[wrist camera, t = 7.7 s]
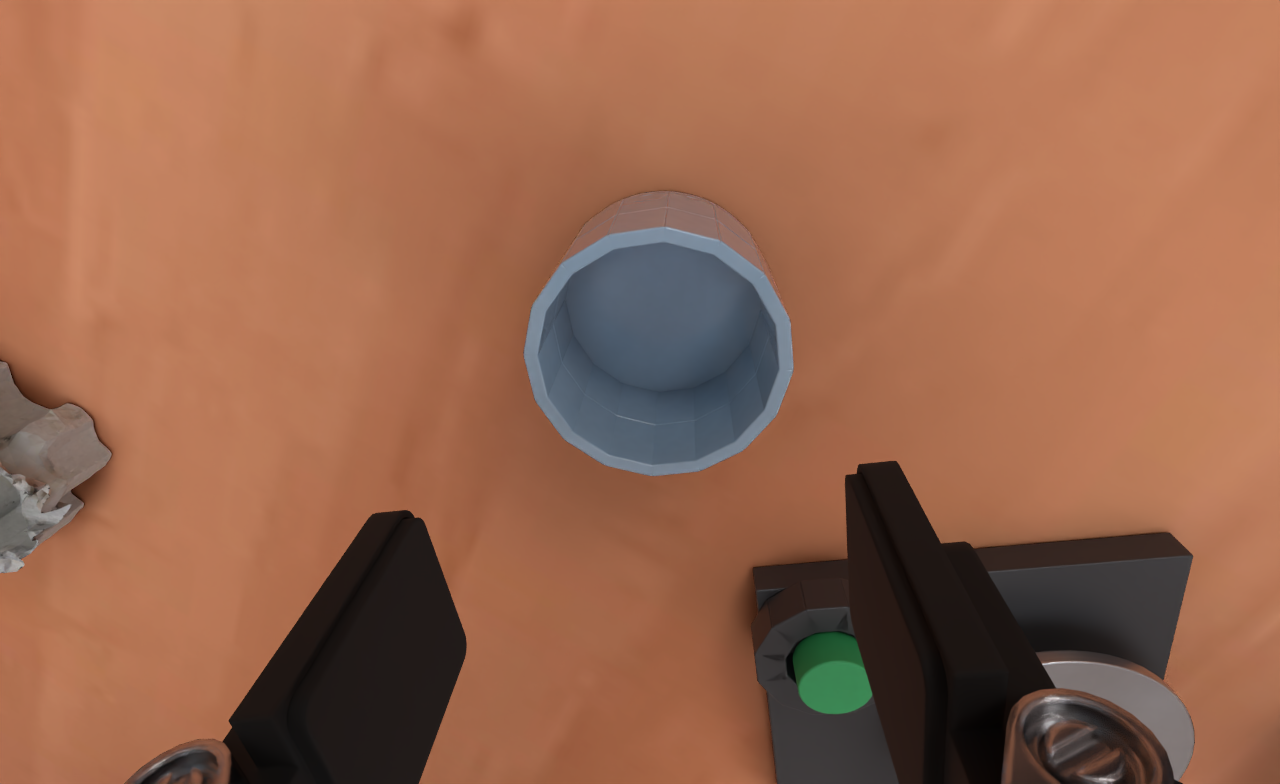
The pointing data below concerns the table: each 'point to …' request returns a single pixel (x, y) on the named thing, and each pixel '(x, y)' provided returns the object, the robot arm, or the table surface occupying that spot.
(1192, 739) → the weighing pan
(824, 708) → the tare button
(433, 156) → the table surface
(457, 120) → the table surface
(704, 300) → the cup
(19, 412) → the egg carton
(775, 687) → the scale
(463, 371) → the table surface
